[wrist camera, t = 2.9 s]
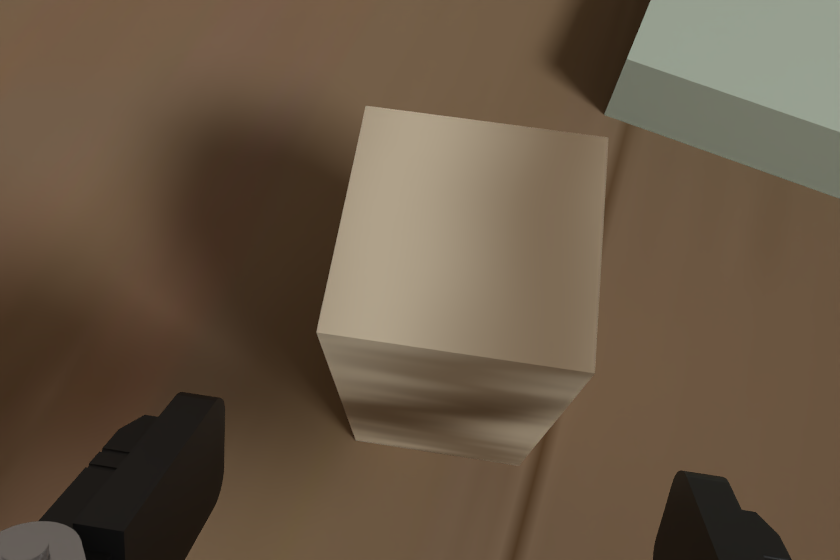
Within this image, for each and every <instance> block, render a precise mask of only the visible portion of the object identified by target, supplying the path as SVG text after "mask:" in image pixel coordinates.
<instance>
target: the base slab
mask: <svg viewBox="0 0 840 560" xmlns="http://www.w3.org/2000/svg"><path fill="white" fill-rule="evenodd" d="M604 115H606V116H609V117H612V118H615V119H618V120H620V121H623V122H626V123H629V124H632V125H634V126H637V127H640V128H643V129H646V130H648V131H651V132H654V133H657V134H660V135H663V136H665V137H668V138H671V139H674V140H677V141H679V142H682V143H685V144H688V145H691V146H693V147H696V148H699V149H702V150H705V151H707V152H710V153H713V154H716V155H719V156H722V157H724V158H727V159H730V160H733V161H736V162H738V163H741V164H744V165H747V166H750V167H752V168H755V169H758V170H761V171H764V172H766V173H769V174H772V175H775V176H778V177H781V178H783V179H786V180H789V181H792V182H795V183H797V184H800V185H803V186H806V187H809V188H811V189H814V190H817V191H820V192H823V193H825V194H828V195H831V196H834V197H837V198H840V0H651V1H650V3H649V6H648V8H647V11H646V13H645V16H644V18H643V21H642V23H641V25H640V28H639V30H638V33H637V35H636V38H635V40H634V42H633V45H632V47H631V50H630V52H629V55H628V57H627V60H626V62H625V65H624V67H623V69H622V72H621V74H620V77H619V79H618V82H617V84H616V87H615V89H614V92H613V94H612V97H611V99H610V102H609V104H608V107H607V109H606V112H605V114H604Z"/></svg>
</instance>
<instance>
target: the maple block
mask: <svg viewBox="0 0 840 560" xmlns="http://www.w3.org/2000/svg"><path fill="white" fill-rule="evenodd" d="M607 154H608V137H601V136H593V135H585V134H578V133H570V132H562V131H555V130H547V129H539V128H532V127H524V126H517V125H509V124H501V123H494V122H486V121H478V120H471V119H463V118H455V117H448V116H440V115H432V114H425V113H417V112H410V111H402V110H394V109H387V108H379V107H371V106H366V107H365V112H364V117H363V121H362V126H361V130H360V135H359V139H358V144H357V149H356V153H355V158H354V162H353V167H352V171H351V176H350V180H349V185H348V190H347V194H346V199H345V203H344V208H343V212H342V217H341V222H340V226H339V231H338V235H337V240H336V244H335V249H334V254H333V258H332V263H331V267H330V272H329V276H328V281H327V286H326V290H325V295H324V299H323V304H322V308H321V313H320V318H319V322H318V327H317V331H316V333H317V336H318V339H319V341H320V344H321V347H322V349H323V352H324V355H325V358H326V360H327V363H328V366H329V369H330V371H331V374H332V377H333V380H334V382H335V385H336V388H337V391H338V393H339V396H340V399H341V402H342V404H343V407H344V410H345V412H346V415H347V418H348V421H349V423H350V426H351V429H352V432H353V434H354V437H355V440H356V441H362V442H369V443H375V444H382V445H388V446H395V447H401V448H408V449H414V450H421V451H427V452H434V453H440V454H447V455H453V456H459V457H466V458H472V459H479V460H485V461H492V462H498V463H505V464H511V465H518V466H519V465H520V464H521V462H522V461H523V460H524V459H525V458H526V456H527V455H528V454H529V453H530V451H531V450H532V449H533V448H534V447H535V445H536V444H537V443H538V442H539V441H540V439H541V438H542V437H543V436H544V434H545V433H546V432H547V431H548V430H549V428H550V427H551V426H552V425H553V424H554V422H555V421H556V420H557V419H558V417H559V416H560V415H561V414H562V413H563V411H564V410H565V409H566V408H567V407H568V405H569V404H570V403H571V402H572V400H573V399H574V398H575V397H576V396H577V394H578V393H579V392H580V391H581V390H582V388H583V387H584V386H585V385H586V383H587V382H588V381H589V380H590V379H591V377H592V376H593V375H594V374H595V361H596V344H597V327H598V309H599V292H600V275H601V258H602V240H603V223H604V206H605V188H606V171H607Z"/></svg>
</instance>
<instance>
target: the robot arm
mask: <svg viewBox="0 0 840 560" xmlns="http://www.w3.org/2000/svg"><path fill="white" fill-rule="evenodd" d="M224 432H225V406H224V401H223V399H222V398H217V397H211V396H204V395H198V394H191V393H185V392H180V393H178V394H177V395H176V396H175V397H174V398H173V400H172V401H171V402H170V403H169V405H168V406H167V407H166V408H165V410H164V411H163V412H162V413H161V415H160V416H159V417H155V416H149V415H144V416H142V417H140V418H138V419H137V420H135V421H133V422H131V423H129V424H128V425H126V426H124V427H122V428H121V429H119V430H118V431H117V432H116V433H115V434H114V436H113V437H112V438H111V439H110V440H109V441H108V442H107V444H106V445H105V446H104V447H103V449H102V452H99V453H98V454H97V455H96V456H95V457H94V458H93V460H92V461H91V462H90V463H89V467H88V468H85V469H84V470H83V471H82V472H81V473H80V474H79V475H78V477H77V478H76V479H75V480H74V481H73V482H72V483H71V485H70V486H69V487H68V488H67V489H66V490H65V491H64V493H63V494H62V495H61V496H60V497H59V498H58V499H57V501H56V502H55V503H54V504H53V505H52V506H51V507H50V508H49V510H48V511H47V512H46V513H45V514H44V515H43V516H42V518H41V519H40V520H39V521H37V522H29V523H24V524H19V525H16V526H13V527H10V528H7V529H5V530H3V531H1V532H0V560H185V558H186V557H187V555H188V553H189V551H190V549H191V548H192V546H193V544H194V542H195V540H196V539H197V537H198V535H199V533H200V532H201V530H202V528H203V526H204V524H205V523H206V521H207V519H208V517H209V515H210V514H211V512H212V510H213V508H214V506H215V504H216V502H217V499H218V497H219V494H220V490H221V486H222V481H223V474H224ZM653 560H792V559H791V558H790V556H789V554H788V552H787V550H786V548H785V546H784V544H783V542H782V540H781V538H780V536H779V535H778V534H777V533H776V532H775V531H774V530H773V529H772V528H771V527H770V526H769V525H768V524H767V523H766V522H765V521H764V520H763V519H762V518H761V517H760V516H759V515H758V514H757V513H756V512H752V511H745V510H741V507H740V505H739V503H738V501H737V499H736V497H735V495H734V493H733V490H732V488H731V486H730V484H729V482H728V480H727V479H726V478H724V477H720V476H713V475H707V474H700V473H694V472H687V471H678V472H677V474H676V475H675V477H674V480H673V483H672V486H671V489H670V493H669V496H668V499H667V503H666V506H665V510H664V513H663V516H662V520H661V523H660V527H659V530H658V533H657V537H656V541H655V545H654V552H653Z"/></svg>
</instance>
